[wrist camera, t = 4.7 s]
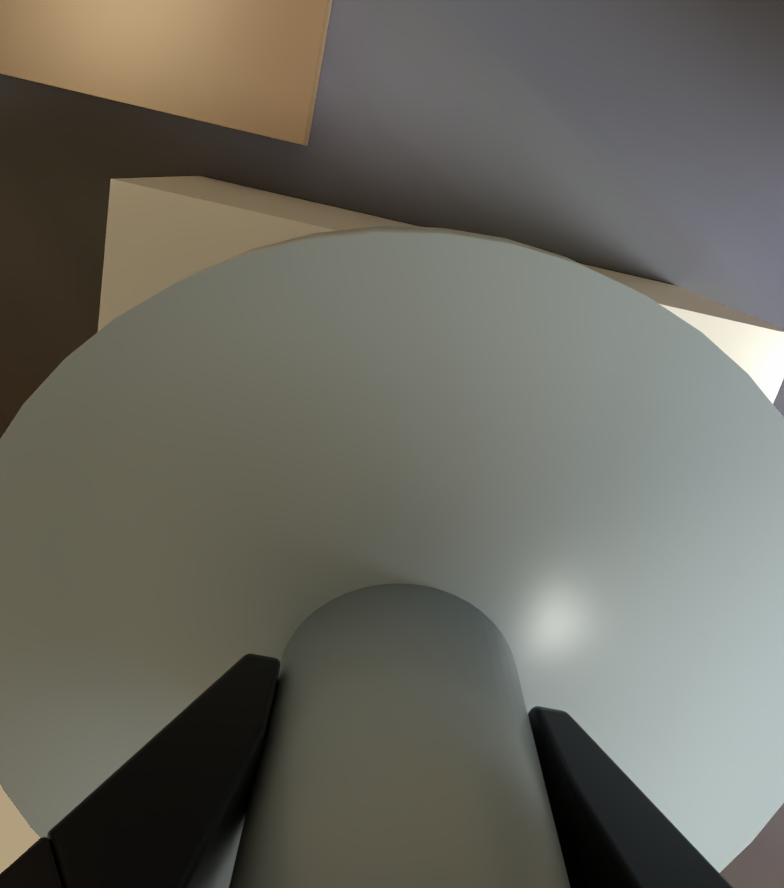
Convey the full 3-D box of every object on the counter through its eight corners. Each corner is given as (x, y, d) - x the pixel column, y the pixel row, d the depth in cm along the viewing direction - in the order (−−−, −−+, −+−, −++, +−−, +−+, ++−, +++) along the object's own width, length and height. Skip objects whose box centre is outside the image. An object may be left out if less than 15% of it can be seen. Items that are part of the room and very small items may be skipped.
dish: (677, 285, 16) (801, 336, 11) (541, 674, 19) (590, 841, 14) (199, 175, 15) (110, 178, 10) (147, 601, 18) (61, 752, 13)
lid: (953, 342, 9) (1743, 590, 4) (643, 969, 13) (818, 1529, 7) (9, 122, 8) (-689, 41, 3) (-20, 863, 12) (-343, 1409, 7)
